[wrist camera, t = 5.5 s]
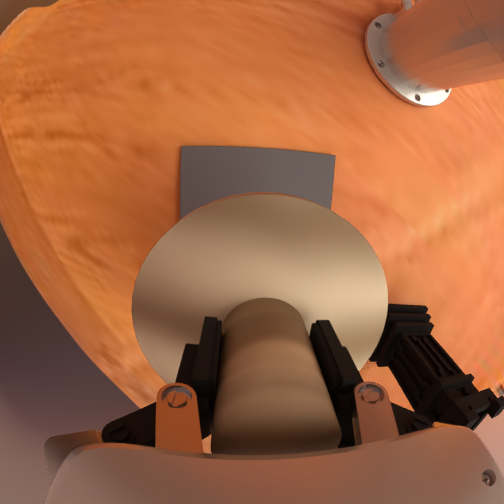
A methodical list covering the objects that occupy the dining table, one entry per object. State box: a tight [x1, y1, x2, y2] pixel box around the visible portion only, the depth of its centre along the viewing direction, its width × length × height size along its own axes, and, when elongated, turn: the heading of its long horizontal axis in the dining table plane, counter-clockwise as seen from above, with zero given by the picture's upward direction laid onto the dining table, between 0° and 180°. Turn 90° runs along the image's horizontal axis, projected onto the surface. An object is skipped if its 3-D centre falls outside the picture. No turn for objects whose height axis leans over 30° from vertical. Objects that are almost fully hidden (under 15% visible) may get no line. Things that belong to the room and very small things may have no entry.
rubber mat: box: [180, 146, 335, 220], centre depth 28 cm, size 16×15×1 cm
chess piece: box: [369, 304, 504, 431], centre depth 23 cm, size 8×8×20 cm
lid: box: [132, 192, 388, 455], centre depth 10 cm, size 13×13×8 cm
